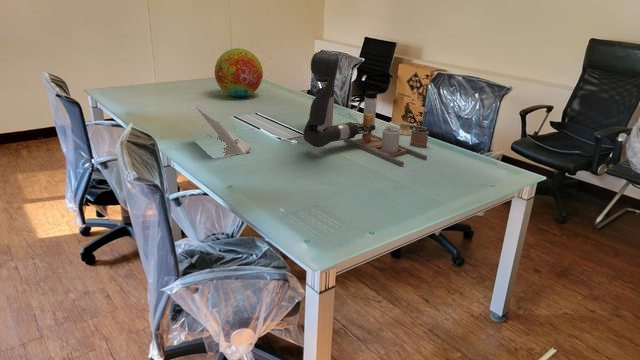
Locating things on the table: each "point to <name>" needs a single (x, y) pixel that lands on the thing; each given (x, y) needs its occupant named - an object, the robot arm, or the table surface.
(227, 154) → the tablet stand
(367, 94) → the travel mug
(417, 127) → the lighter
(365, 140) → the brown post on base
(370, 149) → the rail
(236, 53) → the globe
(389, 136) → the can
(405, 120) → the hand bell
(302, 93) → the table surface
